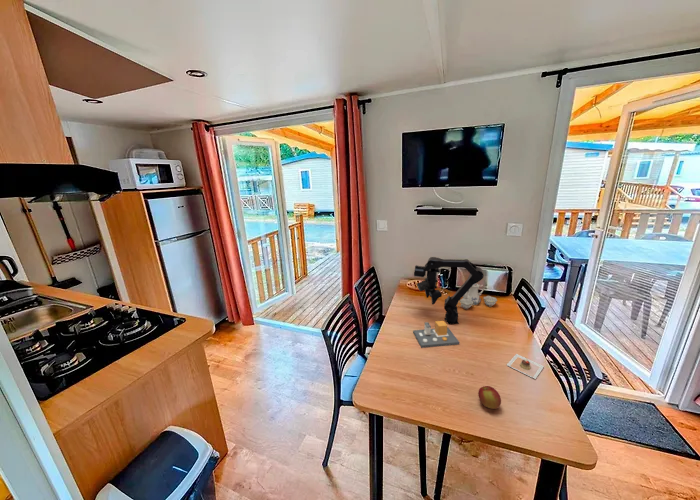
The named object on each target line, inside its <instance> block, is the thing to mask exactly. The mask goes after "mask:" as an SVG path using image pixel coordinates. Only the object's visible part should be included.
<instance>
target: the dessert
mask: <svg viewBox="0 0 700 500" xmlns="http://www.w3.org/2000/svg"><path fill="white" fill-rule="evenodd" d="M518 358H519V359H521V361H520V363H519V367H520V368H521V369H523V370H525V371H529V370H531V369H532V368H531V367H532V366H531V364H532V365H535V366H537V367H539V368H538V369H537V371H536V373H534V375H533V376H531V375H529V374H527V373H525V372H524V371H521V370H519V369H517V368H515V367H513V366H512V365H513V363H514V362H515V361H516V360H517V359H518ZM506 366H507V367H510V368H512V369H514V370H515V371H518V372H520V373H522V374H524V375H526V376H528V377H530V378H533V379H535V380H536V379H537V377H538V376H539V374H540V373H541V372H542V370H543V369H544V368H545V366H544V365H542V364H540V363H538V362H535V361H533V360H531V359H529V358H526V357H525V356H522V355H520V354H518V353H516V354H515V355H513V357H512V358H511V359H510V360H509V361H508V362H507V364H506Z"/></svg>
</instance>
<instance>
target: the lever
mask: <svg viewBox="0 0 700 500" xmlns="http://www.w3.org/2000/svg"><path fill="white" fill-rule="evenodd" d="M423 327H424V328H423V329H424V333H425V335H431V333H430V331H431V329H432V326H431V324H430V323H429V322H428V321H426V322H424V326H423Z"/></svg>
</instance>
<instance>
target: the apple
mask: <svg viewBox="0 0 700 500" xmlns="http://www.w3.org/2000/svg"><path fill="white" fill-rule="evenodd" d="M477 394H478V395H477V396H478V399H479V401H480V403H481V404H482V405H483V406H484V407H486V408H488V409H494V410H495V409H498V408H500V406H501V404H502V399H501V396H500V393H499V392H498V391H497V390H496V388H494V387H492V386H490V385H486V386H481V387H480V388H479V389H478V393H477Z"/></svg>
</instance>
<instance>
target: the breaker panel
mask: <svg viewBox="0 0 700 500" xmlns="http://www.w3.org/2000/svg"><path fill="white" fill-rule="evenodd" d="M412 332H413V335H414V337H415V339H416V340H417V342H418V344H419V346H420V348H422V349H424V348H434V347H435V348H436V347H446V346H455V345H456V346H457V345H460V340H458V338H457V336H455V334H454V333H453V332H452V330H451V329H450V328H449V326H447V335H439V336H438V335H437V333H436V332H435V328H431V331H430V333H431V335H425V333H424V328H423V329H413V331H412Z"/></svg>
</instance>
